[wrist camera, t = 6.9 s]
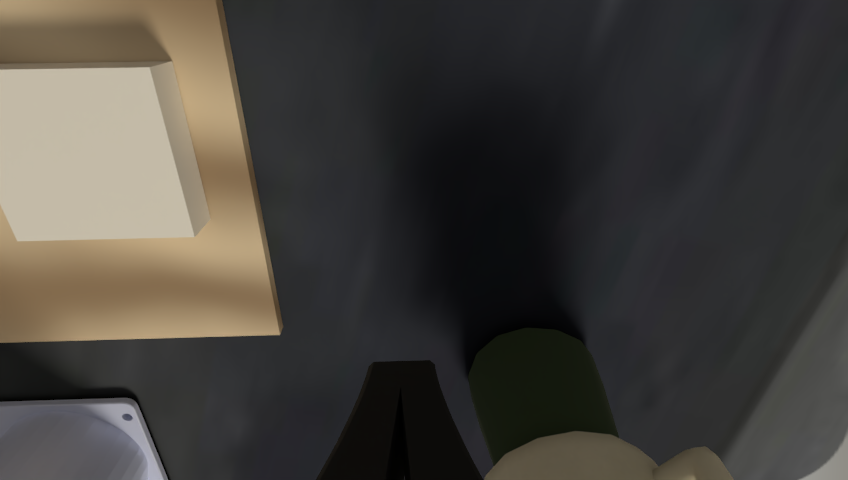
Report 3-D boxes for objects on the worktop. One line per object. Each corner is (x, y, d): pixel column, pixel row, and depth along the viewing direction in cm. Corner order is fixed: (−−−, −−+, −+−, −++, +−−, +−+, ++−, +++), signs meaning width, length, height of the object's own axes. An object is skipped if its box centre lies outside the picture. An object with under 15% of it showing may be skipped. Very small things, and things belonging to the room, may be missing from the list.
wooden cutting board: (283, 326, 22) (280, 334, 22) (-17, 335, 22) (-28, 343, 21) (192, -156, 14) (184, -163, 13) (-293, -155, 14) (-321, -161, 13)
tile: (194, 237, 17) (17, 241, 17) (211, 218, 19) (47, 222, 19) (149, 67, 15) (-62, 70, 15) (172, 60, 16) (-20, 63, 16)
